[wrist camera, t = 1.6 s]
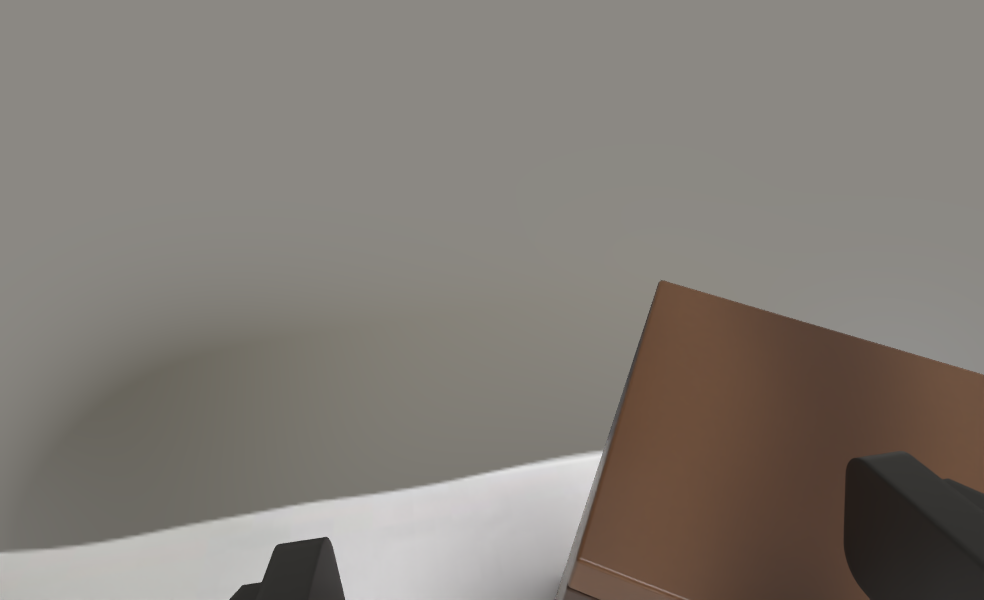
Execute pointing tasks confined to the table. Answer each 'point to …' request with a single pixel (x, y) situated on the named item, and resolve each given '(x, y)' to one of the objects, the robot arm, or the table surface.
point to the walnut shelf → (755, 453)
